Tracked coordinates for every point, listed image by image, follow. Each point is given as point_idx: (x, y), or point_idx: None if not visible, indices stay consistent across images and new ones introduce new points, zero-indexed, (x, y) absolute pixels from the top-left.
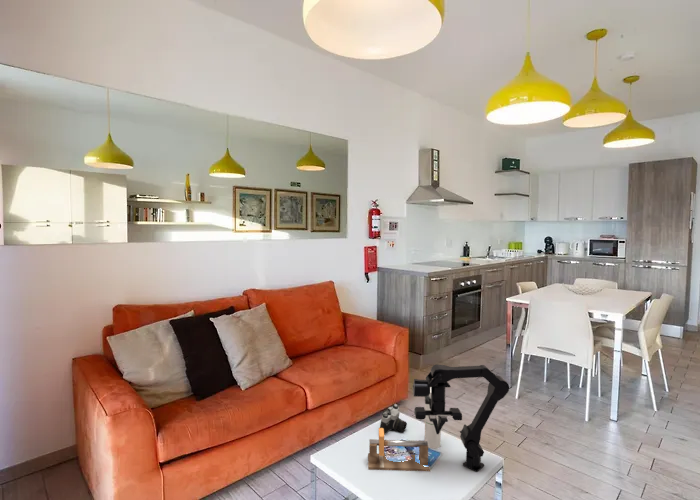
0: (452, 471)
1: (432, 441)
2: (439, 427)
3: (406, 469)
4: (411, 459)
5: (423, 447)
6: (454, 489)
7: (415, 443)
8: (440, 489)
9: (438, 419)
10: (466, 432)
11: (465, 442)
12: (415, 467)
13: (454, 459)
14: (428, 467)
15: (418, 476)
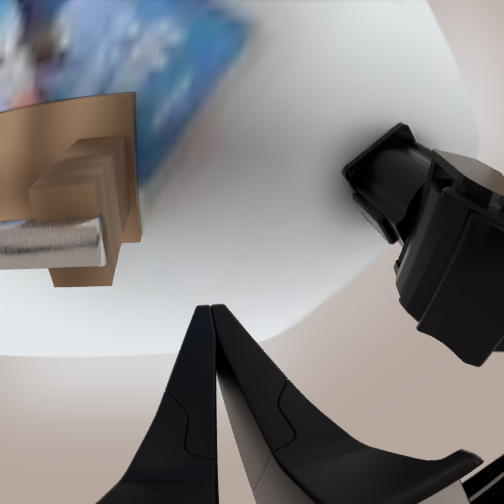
0: (265, 223)
1: None
2: (240, 444)
3: None
4: (34, 163)
5: (73, 285)
6: None
7: (6, 268)
8: (176, 334)
9: (278, 477)
10: (473, 335)
11: (414, 317)
12: None
13: (319, 113)
14: (130, 229)
15: None
